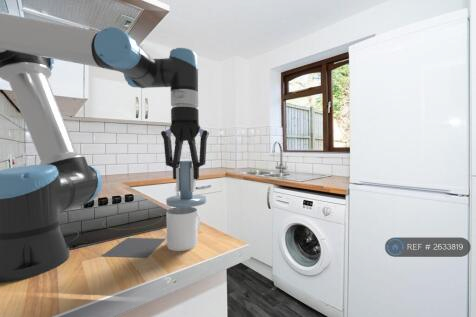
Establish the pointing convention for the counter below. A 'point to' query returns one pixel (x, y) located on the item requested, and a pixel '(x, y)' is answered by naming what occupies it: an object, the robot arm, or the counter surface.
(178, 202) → the lid
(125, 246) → the mat
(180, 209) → the mug
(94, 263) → the counter surface
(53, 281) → the counter surface
